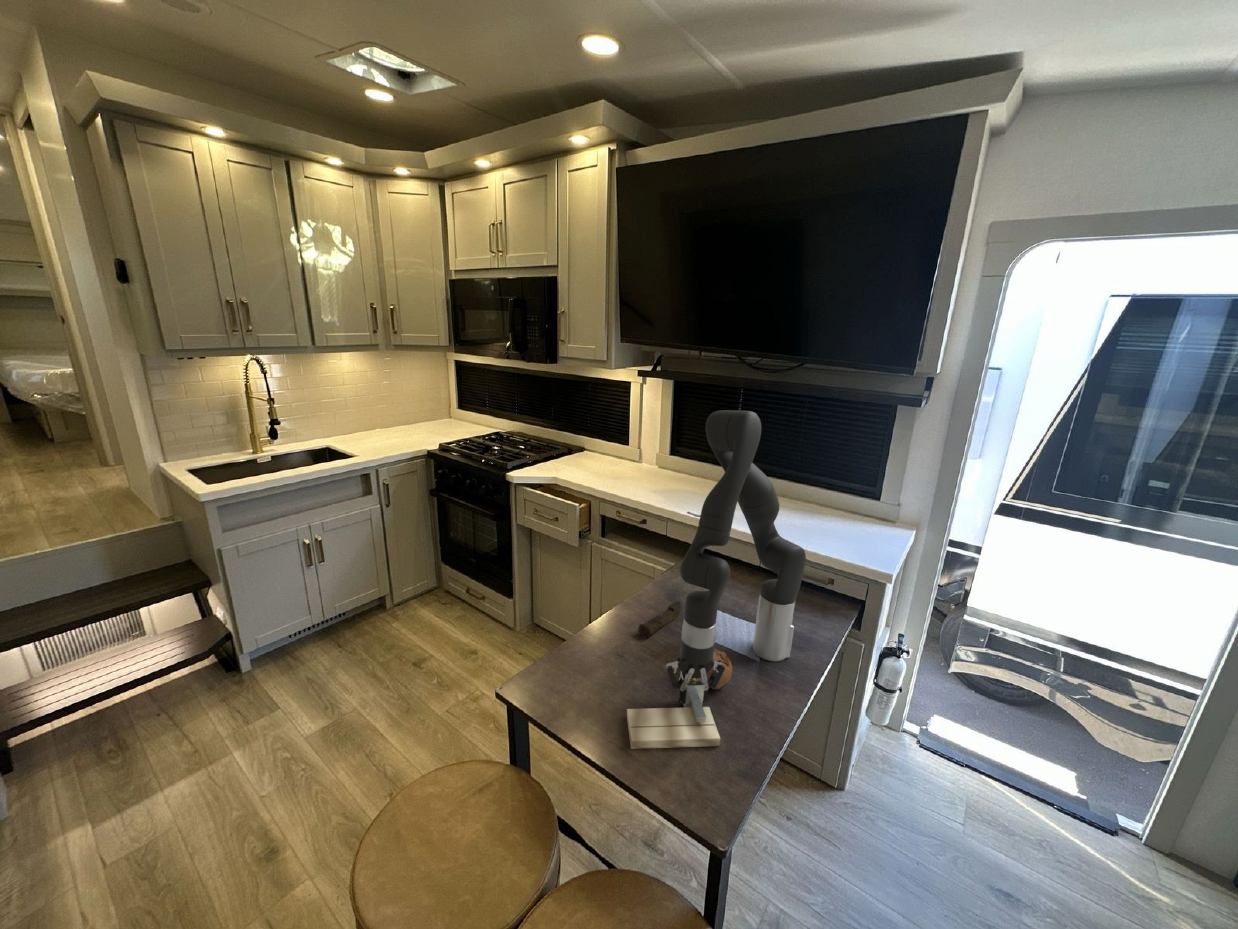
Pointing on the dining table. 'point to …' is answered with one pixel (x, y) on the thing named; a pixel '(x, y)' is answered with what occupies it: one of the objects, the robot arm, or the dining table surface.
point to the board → (670, 728)
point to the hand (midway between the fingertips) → (691, 700)
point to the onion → (727, 672)
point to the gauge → (695, 698)
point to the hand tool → (660, 619)
